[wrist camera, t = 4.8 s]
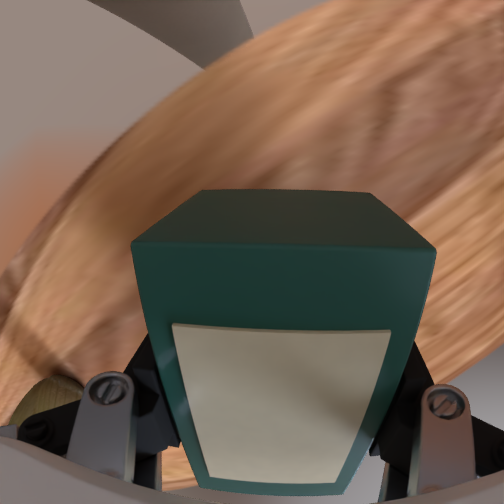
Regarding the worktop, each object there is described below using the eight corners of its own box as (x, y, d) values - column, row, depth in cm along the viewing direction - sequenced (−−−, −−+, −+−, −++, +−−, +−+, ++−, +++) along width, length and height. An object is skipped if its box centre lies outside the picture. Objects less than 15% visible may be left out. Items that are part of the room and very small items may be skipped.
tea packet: (200, 189, 9) (125, 244, 5) (371, 192, 8) (442, 251, 4) (221, 401, 12) (198, 490, 8) (336, 405, 12) (343, 497, 7)
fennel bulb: (121, 412, 18) (55, 545, 7) (91, 422, 20) (33, 530, 9) (61, 356, 17) (-32, 483, 6) (40, 374, 18) (-36, 477, 7)
